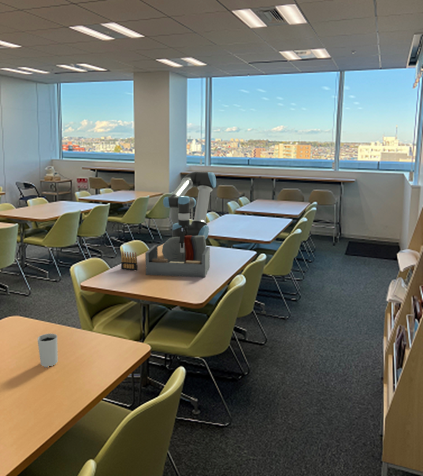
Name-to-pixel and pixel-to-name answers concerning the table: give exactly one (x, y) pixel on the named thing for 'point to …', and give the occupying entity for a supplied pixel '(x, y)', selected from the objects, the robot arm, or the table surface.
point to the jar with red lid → (192, 248)
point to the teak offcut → (194, 262)
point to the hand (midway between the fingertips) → (184, 250)
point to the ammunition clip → (129, 261)
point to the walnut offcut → (160, 260)
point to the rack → (176, 265)
